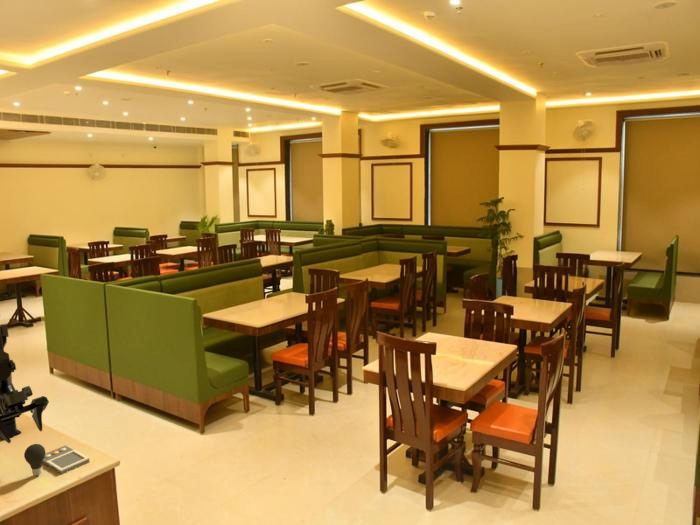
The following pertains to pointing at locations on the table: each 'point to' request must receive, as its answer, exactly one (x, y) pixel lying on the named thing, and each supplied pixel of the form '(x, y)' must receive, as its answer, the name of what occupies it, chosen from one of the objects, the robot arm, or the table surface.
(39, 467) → the light bulb
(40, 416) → the robot arm
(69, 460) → the indicator board
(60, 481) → the table surface
